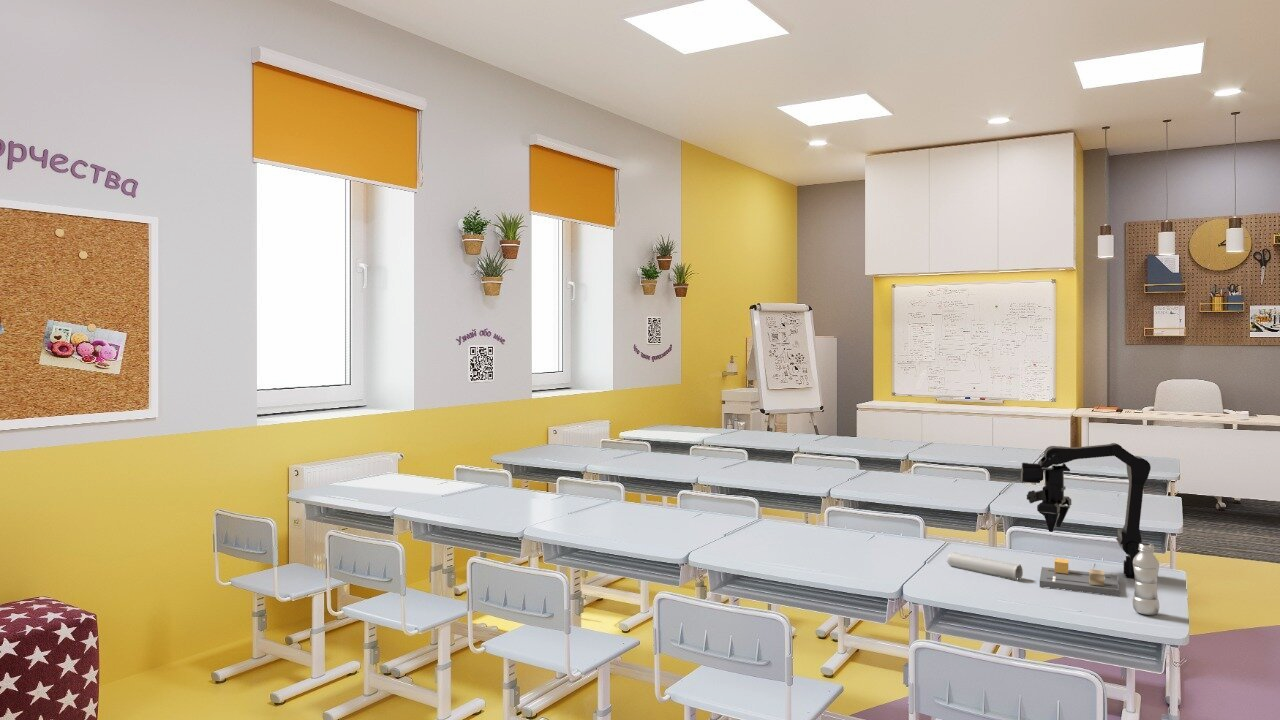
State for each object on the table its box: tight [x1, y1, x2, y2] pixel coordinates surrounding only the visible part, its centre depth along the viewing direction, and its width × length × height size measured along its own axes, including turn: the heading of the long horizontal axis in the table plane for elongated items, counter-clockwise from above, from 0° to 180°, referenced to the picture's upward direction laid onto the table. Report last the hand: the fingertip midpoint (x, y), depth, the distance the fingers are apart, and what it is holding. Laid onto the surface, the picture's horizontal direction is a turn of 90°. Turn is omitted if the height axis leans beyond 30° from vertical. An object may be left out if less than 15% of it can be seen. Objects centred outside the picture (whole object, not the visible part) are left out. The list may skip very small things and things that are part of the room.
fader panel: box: [1039, 566, 1120, 597], centre depth 268 cm, size 22×18×2 cm
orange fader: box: [1054, 557, 1069, 574], centre depth 275 cm, size 4×5×4 cm
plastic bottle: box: [1132, 542, 1161, 616], centre depth 239 cm, size 6×7×20 cm
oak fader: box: [1088, 568, 1105, 586], centre depth 261 cm, size 4×5×4 cm
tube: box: [946, 552, 1024, 581], centre depth 283 cm, size 5×5×25 cm
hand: (1054, 529), depth 284 cm, fingers open, 9 cm apart
